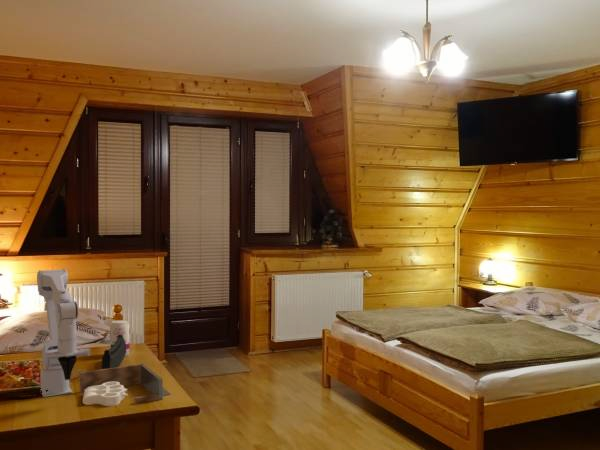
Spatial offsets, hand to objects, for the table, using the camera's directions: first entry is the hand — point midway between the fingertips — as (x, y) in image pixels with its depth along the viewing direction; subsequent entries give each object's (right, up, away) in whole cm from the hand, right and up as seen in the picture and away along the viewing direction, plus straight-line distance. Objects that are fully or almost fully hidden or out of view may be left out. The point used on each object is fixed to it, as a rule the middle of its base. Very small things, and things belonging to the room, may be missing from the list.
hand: (67, 379), depth 195 cm
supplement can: (-2, -7, +64) cm, 65 cm away
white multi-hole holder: (+11, -9, +7) cm, 15 cm away
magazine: (+2, -7, +44) cm, 45 cm away
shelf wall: (+15, -8, +9) cm, 19 cm away
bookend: (+26, -8, +16) cm, 31 cm away
